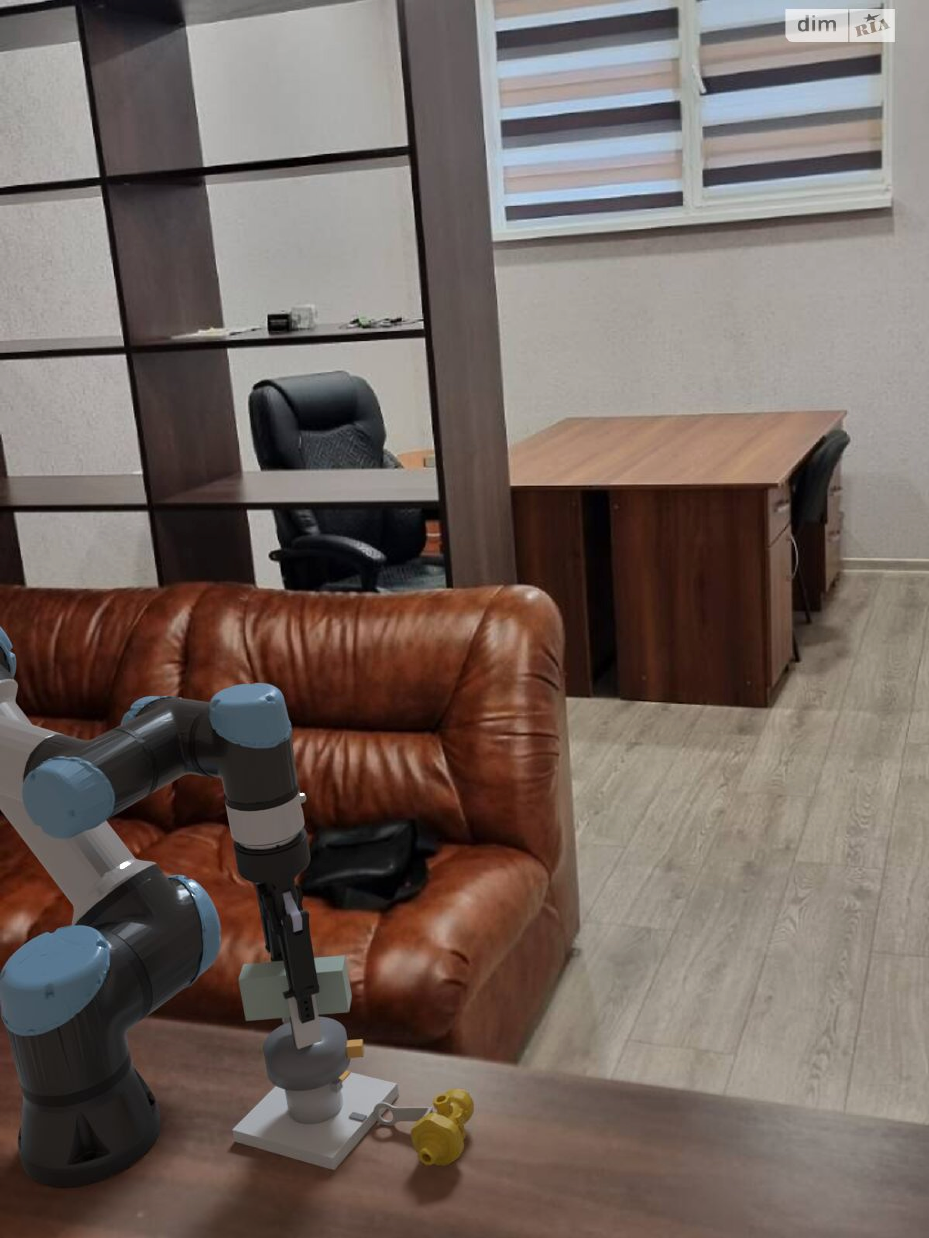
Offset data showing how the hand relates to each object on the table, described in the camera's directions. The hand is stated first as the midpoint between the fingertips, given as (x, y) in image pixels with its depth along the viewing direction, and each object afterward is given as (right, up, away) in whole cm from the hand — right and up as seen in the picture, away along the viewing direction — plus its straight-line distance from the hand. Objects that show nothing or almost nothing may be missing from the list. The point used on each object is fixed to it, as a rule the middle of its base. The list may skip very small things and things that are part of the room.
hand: (302, 1030), depth 146 cm
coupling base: (+1, -11, +3) cm, 11 cm away
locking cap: (+1, -4, +1) cm, 4 cm away
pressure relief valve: (+13, -11, -3) cm, 17 cm away
